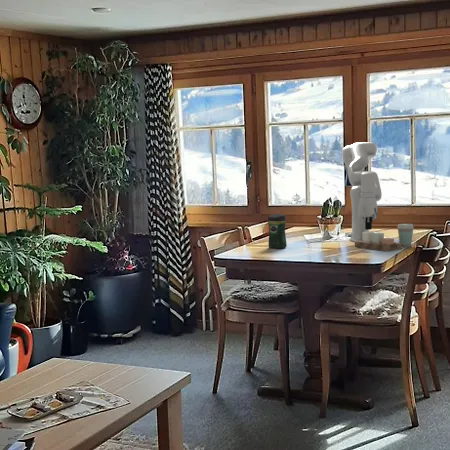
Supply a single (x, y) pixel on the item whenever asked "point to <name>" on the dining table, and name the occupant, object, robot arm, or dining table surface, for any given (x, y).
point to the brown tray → (378, 246)
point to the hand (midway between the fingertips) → (368, 229)
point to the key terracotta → (388, 241)
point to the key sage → (377, 237)
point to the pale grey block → (367, 236)
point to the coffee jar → (277, 231)
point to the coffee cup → (405, 234)
